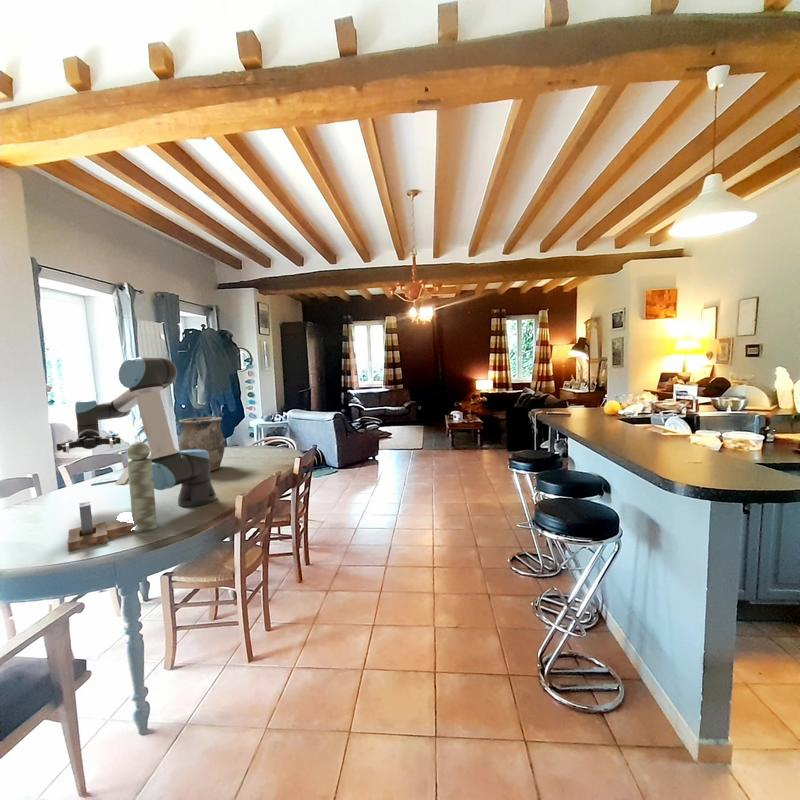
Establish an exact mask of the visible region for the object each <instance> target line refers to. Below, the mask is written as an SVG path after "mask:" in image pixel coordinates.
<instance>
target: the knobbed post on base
mask: <svg viewBox="0 0 800 800" xmlns="http://www.w3.org/2000/svg"><path fill="white" fill-rule="evenodd" d="M126 452H127V453H126V454H127V456H128V457H129V458H127V459H126V462H127V466H128V474H129V484H128V485H129V496H130V507H131V518H132V517H133V521H134V524H133V523H127V522H124V521H120V522H115V523H110V524H106V522H99V523H92V525H93V534H90V535H85V536H82V528H81V526H80V527H76V528H70V529H68V535H67V549H68V552H69V553H71V552H73V551H79V550H81V549H83V550H84V549H87V548H90V547H95V546H98V545H104V544H108V543H109V539H113V538H116V537H117V538H118V537H120V536H121V537H122V536H125V535H126V536H127V535H130V534H136V533H141V532H145V531H149V530H154V529H157V528H158V523H157V511H156V510H157V509H156V499H155V489H154V483H153V471H152V460H151V458H150V454H151V453H150V449H149V445H148V444H146V443H144V442H141V441H137V442H134V443H132V444H130V445H129V447H128V448H127V451H126ZM136 525H138V528H139V529H138V530H132V531H131V529H132V528H133V527H135V526H136Z"/></svg>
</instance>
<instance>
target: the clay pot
mask: <svg viewBox="0 0 800 800" xmlns="http://www.w3.org/2000/svg"><path fill="white" fill-rule="evenodd" d="M222 420H223V418H222V417H217V416H205V417H191V418H183V419H180V420H179V421H178V423H179V425H180V426H181V428H182V431H181V434H180V438H179V440H178V441H179V443H178V446H179V451H181V450H195V449H196V450H206V451H207V452H208V453H209V458H210V460H209V462H210V473H211V472H214V471H217V470H219V469H220V468H221V465H222V461H223V458H224V453H225V447H226V445H225V442H226V438H225V437H224V435H223V431H222V430H221V427H220V424H221V422H222Z"/></svg>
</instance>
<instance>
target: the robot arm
mask: <svg viewBox="0 0 800 800" xmlns="http://www.w3.org/2000/svg"><path fill="white" fill-rule="evenodd" d="M177 369H178V368H177V366H176V365H175V364H174V362H172V361H171V360H169V359H167V358H164V357H131V358H128V359H125V360H124V361H123V362H122V363H121V365H120V367H119V369H118V381H119V382H120V384H121V385H122V386H123V387H125V388H128V389H127V390H125V391H124V392H123V393H122V394H120V395H119V396H117V397H116V398H115V399H113V400H111V401H109V402H101V403H99V402H97V400H95V399H86V400H78V401H76V402H75V409H74V410H75V415H76V429H77V430H76V431H77V438H76V439H75V440H73V439H68V440H66V441H63V442H60V443H56V451H57V452H60V451H62V453H66V454H69V453H70V450H71V449H75V448H83V449H84V450H85V449H86V450H93V449H95V448H97V447H98V446H103V445H109V446H110V448H111V449H114V445H117V444H118V445H120V444H121V443H122V442H121V437H120V436H111V435H105V436H104V437H103V436H101V435H100V426H99V424H100V423H99V421H103V420H104V421H105V420H112V419H118V418H123V417H127V416H128V415H130V414H131V413H132V409H133V408H134V407H136V406H138V410H139V414H140V417H141V421H142V424H143V425H142V426H143V429H144V433H145V436H146V440H147V443H148V444H147V445H148V447H149V449H150V453H149V457H150V458H151V460H152V471H153V483H154V490H157V491H164V490H168V489H172V488H174V487H177V486H180V485H181V487H180V490H179V494H178V496H177V497H178V498H177V504H178V506H180V507H186V508H187V507H190V508H193V507H197V506H198V507H199V506H204V505H207V504H210V503H213V502H214V501H216V499H217V494H216V493H217V492H216V491H215V489H214V487H213V484H212V481H211V472H210V462H209V460H210V458H209V453H208V452H207V451H206V450H196V449H195V450H181V451H180V450H178V449H176V448H175V444H174V442H173V438H172V433H171V430H170V425H169V421H168V418H167V414H166V410H165V406H164V402H163V399H162V398H163V397H162V394H161V391H162V390H164V389H166V388H167V387H169V386H171V385H172V384H173V383H174V382H175V381H176V379H177V376H178V370H177Z"/></svg>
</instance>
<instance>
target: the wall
mask: <svg viewBox="0 0 800 800" xmlns="http://www.w3.org/2000/svg"><path fill="white" fill-rule="evenodd" d="M122 484H125V485H129V474H128V465H127V466H126V467H125V469H124V470H123V472H122V473H121V474H120V476H119V477H118V479H117V480H116V482H115V483H114V485H115V486H119V485H122Z"/></svg>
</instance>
